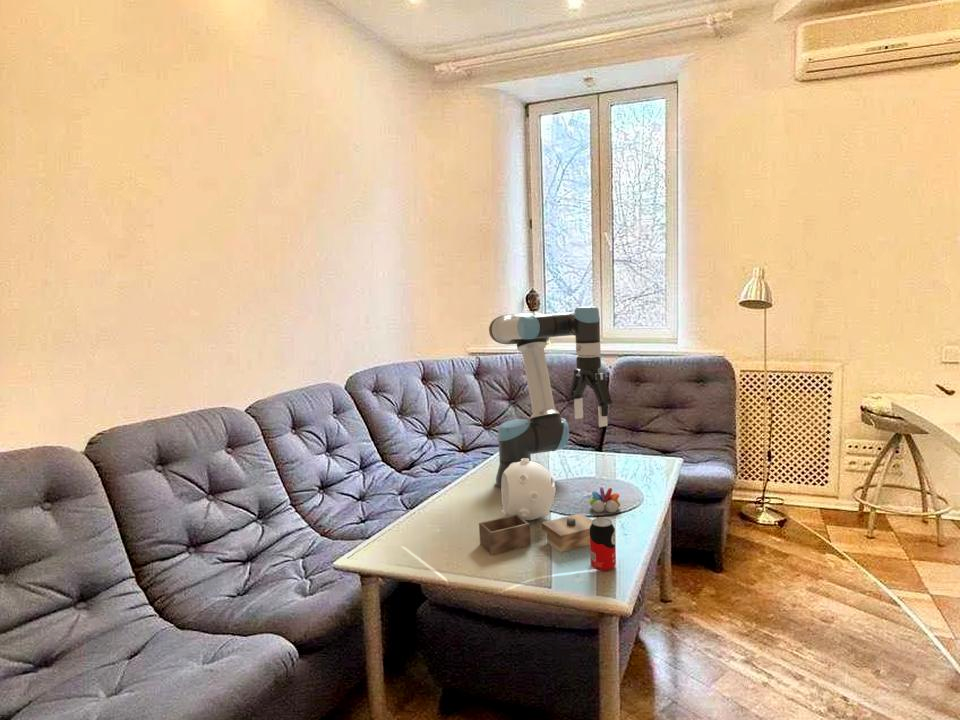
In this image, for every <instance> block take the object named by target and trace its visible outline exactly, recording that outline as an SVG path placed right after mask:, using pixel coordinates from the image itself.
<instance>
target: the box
mask: <svg viewBox="0 0 960 720" xmlns="http://www.w3.org/2000/svg"><path fill="white" fill-rule="evenodd" d="M478 527H479V529H478V530H479V542H480V543H479V544H480V546H481V547H482V548H484V550H486V552H488V553H489V555H490V556H497V555H500V554H504V553H508V552H511V551H512V552H513V551H515V550H520V549H525V548H529V547H531V545H532V543H531V542H532V541H531V525H530V523H529V521H527V520H524V519H522V518H521V517H520V516H518V515H512V516H511V515H509V516H508V517H507V516H504V517H500V518H495V519H490V520H487V521H480V522H479V523H478Z"/></svg>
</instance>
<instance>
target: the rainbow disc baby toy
mask: <svg viewBox="0 0 960 720" xmlns="http://www.w3.org/2000/svg"><path fill="white" fill-rule="evenodd" d="M599 492H600V494H599ZM599 492H597V491H592V492H591V495H592V498H591V499H590V500H589V505H590V506H591V507H592V510H593V511H594V512H595V513H602V512H603V511H605V510H606V511H607V512H608V513H611V514H612V513H615V512H617V510H618V508H620V507H621V502H620V501H619V500H618V499H619V497H620V494H619V493H618V492H617V493H613V494H612V492H613V488H611V487H608V489H607V490H606V493H605V490H604V487H603V486H602V487H599Z"/></svg>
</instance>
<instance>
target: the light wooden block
mask: <svg viewBox="0 0 960 720" xmlns="http://www.w3.org/2000/svg"><path fill="white" fill-rule="evenodd" d="M546 540H547V541H546V542H547V544H548V545H549V546H551V547H552V548H553V549H555V550H556V551H558V552H559V553H562V552H566V551H570V550H574V549H577V548H581V547H585V546H589V547H590V536H587V537H583V538H579V539H575V540H571V541H567V542H563V543H561V542H559V541H558V540H556V539H555V538H554V537H552V536H551V535H549V534H548V533H547V532H546Z"/></svg>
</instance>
